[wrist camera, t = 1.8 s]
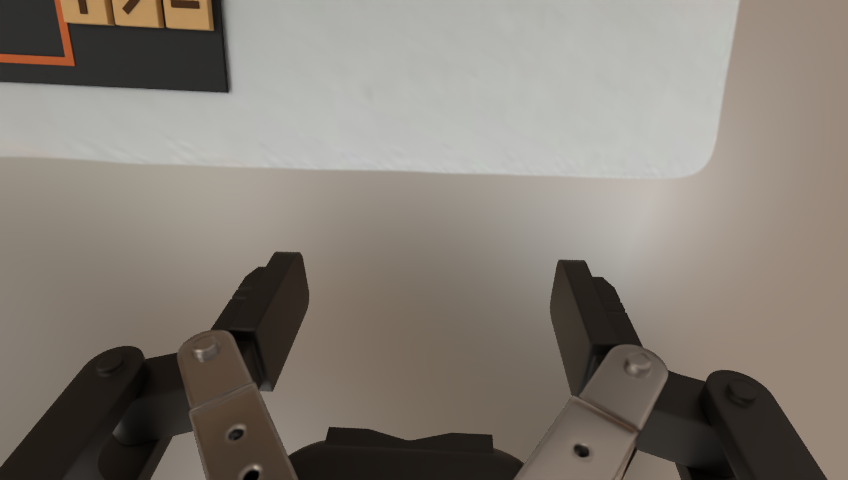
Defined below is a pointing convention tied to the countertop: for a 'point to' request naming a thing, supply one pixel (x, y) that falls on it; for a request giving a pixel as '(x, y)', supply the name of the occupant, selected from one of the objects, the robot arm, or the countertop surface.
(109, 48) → the mat
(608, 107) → the countertop surface
